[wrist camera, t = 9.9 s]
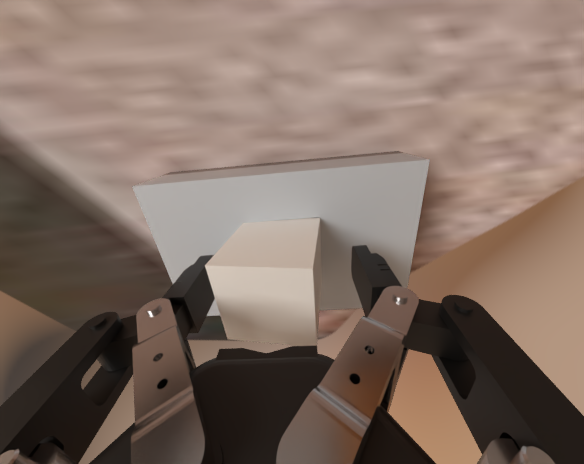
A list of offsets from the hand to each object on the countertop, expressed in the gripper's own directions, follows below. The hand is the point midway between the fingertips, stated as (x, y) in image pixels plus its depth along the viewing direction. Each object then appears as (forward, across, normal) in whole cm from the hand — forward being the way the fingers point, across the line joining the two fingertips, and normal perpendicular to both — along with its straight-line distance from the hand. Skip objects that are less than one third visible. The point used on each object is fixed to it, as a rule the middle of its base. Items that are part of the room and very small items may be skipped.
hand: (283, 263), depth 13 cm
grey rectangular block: (+5, 0, 0) cm, 5 cm away
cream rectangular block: (+4, 0, 0) cm, 4 cm away
